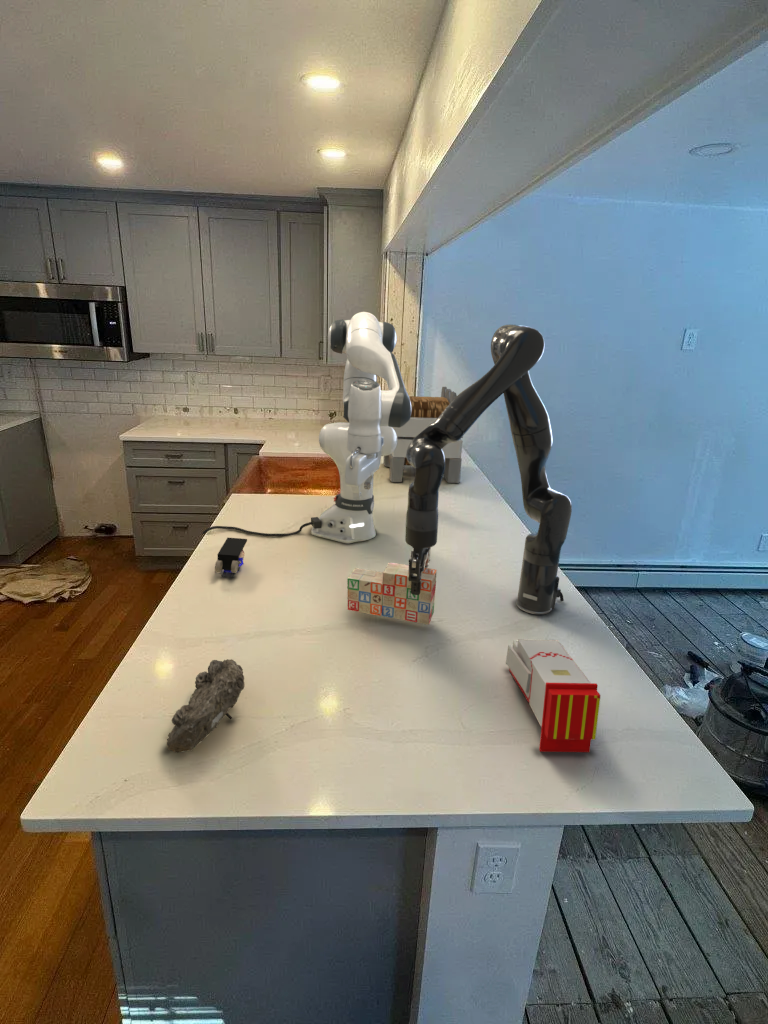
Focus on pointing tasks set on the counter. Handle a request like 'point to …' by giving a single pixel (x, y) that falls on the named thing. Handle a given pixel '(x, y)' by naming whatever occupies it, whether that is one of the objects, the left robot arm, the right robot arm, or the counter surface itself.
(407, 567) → the stack of blocks
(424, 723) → the counter surface
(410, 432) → the grey slatted crate
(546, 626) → the counter surface
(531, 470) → the right robot arm
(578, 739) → the toy
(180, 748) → the fossil
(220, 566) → the figurine character
